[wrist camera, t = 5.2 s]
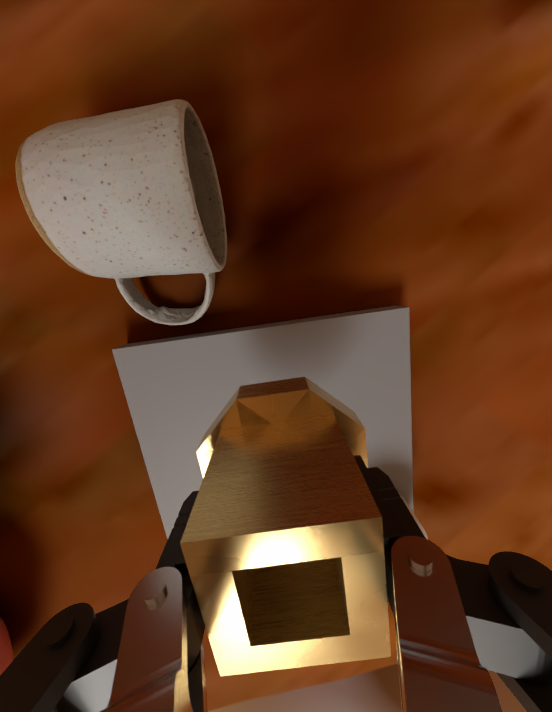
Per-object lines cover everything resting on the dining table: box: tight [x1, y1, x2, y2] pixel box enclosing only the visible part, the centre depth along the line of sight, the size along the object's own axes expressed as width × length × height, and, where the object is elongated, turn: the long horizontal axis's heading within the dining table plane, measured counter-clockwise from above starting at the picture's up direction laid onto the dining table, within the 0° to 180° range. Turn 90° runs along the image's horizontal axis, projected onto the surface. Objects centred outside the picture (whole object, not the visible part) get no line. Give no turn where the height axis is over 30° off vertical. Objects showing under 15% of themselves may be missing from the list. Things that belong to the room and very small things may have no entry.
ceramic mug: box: [15, 99, 227, 325], centre depth 15 cm, size 11×8×8 cm
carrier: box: [112, 305, 428, 540], centre depth 20 cm, size 20×22×6 cm
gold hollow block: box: [180, 377, 391, 676], centre depth 10 cm, size 7×7×6 cm
